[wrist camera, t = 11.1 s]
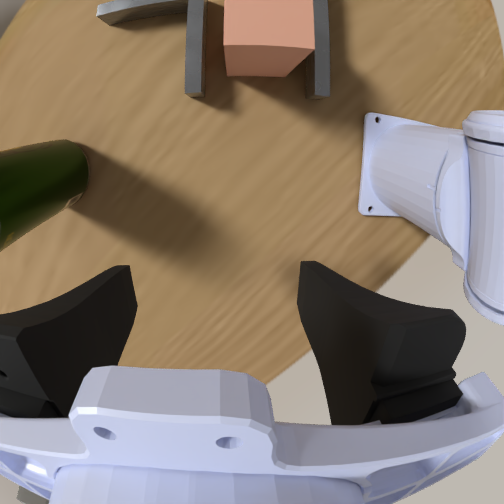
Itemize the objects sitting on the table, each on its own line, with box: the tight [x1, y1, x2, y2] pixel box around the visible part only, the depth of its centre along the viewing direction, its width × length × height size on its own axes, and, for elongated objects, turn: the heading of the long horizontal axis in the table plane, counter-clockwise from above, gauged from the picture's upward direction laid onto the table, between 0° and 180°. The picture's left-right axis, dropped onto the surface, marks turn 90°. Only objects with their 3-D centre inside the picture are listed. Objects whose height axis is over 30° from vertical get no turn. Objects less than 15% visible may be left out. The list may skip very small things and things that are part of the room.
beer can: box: [0, 140, 90, 252], centre depth 14 cm, size 5×5×12 cm
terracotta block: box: [224, 0, 315, 77], centre depth 13 cm, size 4×4×8 cm
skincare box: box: [17, 486, 50, 504], centre depth 32 cm, size 8×7×16 cm
